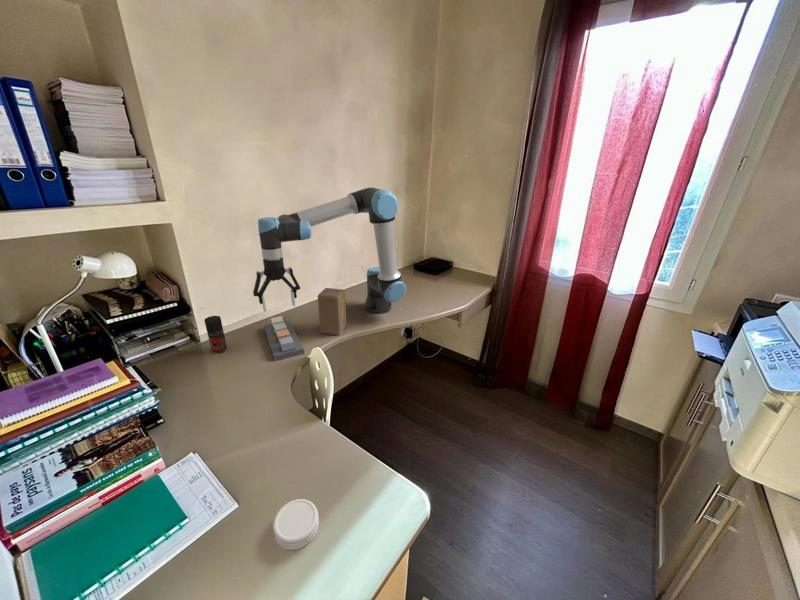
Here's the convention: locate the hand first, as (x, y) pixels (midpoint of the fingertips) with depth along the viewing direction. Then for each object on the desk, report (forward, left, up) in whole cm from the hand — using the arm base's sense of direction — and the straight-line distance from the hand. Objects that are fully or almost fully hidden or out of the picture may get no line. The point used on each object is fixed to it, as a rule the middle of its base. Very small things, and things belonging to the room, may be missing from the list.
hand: (279, 307), depth 142 cm
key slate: (0, +7, -16) cm, 17 cm away
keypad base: (0, -3, -18) cm, 19 cm away
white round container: (+13, +82, -19) cm, 86 cm away
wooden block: (-24, -3, -18) cm, 30 cm away
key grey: (0, -14, -16) cm, 21 cm away
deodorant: (+26, -8, -18) cm, 32 cm away
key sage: (0, -7, -16) cm, 17 cm away
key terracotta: (0, 0, -16) cm, 16 cm away
